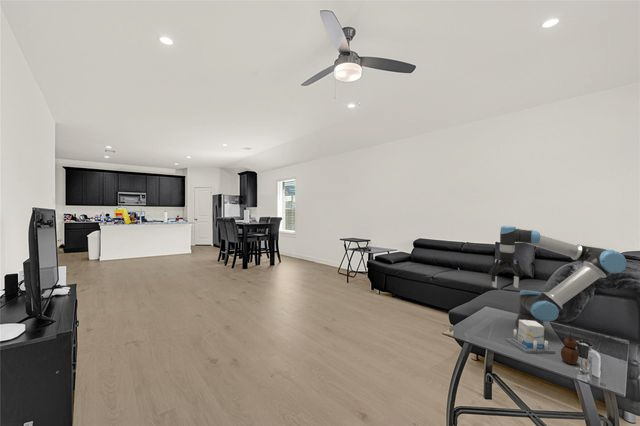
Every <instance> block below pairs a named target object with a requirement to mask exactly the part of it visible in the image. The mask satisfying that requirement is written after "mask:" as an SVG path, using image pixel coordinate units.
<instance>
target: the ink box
mask: <svg viewBox="0 0 640 426" xmlns="http://www.w3.org/2000/svg"><path fill="white" fill-rule="evenodd" d="M517 328H518V330H517V331H518V332H517V338H518V341H520V342H521V343H522V344H523V345H525V346H526V347H530V348H533V342H534V340H535V341H537V348H539V349H543V346H544V342H545V338H544V337H545V332H544V327H543V326H542V325H541V324H539V323H538V322H536V321H530V320H519V327H517Z"/></svg>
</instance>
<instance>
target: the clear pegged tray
mask: <svg viewBox="0 0 640 426" xmlns="http://www.w3.org/2000/svg"><path fill="white" fill-rule="evenodd" d="M517 331H518V330H517V329H515V328H514V329H513V336H512V338H510V337H509V338H507V337H506V338H505V341H506V342H507V343H509V344H511V345H512V346H514V347H515V348H517V349H518V350H519V351H522V352H523V353H525V354H556V350H554V349H552V348H550V346H549V341H548V340H546V339H544V346H543V349H539V348H537V341H535V340H534V342H533V348H530V347H526V346H525V345H523V344H522V343H521V342H520V341H518V332H517Z"/></svg>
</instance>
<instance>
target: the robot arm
mask: <svg viewBox="0 0 640 426" xmlns="http://www.w3.org/2000/svg"><path fill="white" fill-rule="evenodd" d="M516 243H520V244H527V245H530V246H534V247H537V248H540V249H543V250H547V251H550V252H553V253H555V254H556V253H557V254H560V255H563V256H565V257H570V258H571V259H572V260H573V261H577V262H579V263H582V264H583V266H581V267H579V268H578V269H577V270H576V271H574V272H573V273H572V274H571V275H569V276H568V277H566V278H565V279H564V280H563V281H561V282H560V283H558V284H557V285H555V286H554V287H553V288H552V289H550V290H549V291H548V292H547V291H545V292H543V291H541V292H540V291H536V290H528V289H522V290H520V291H519V296H518V297H519V298H518V299H519V301H518V304H519V305H518V314H517V316H516V319H515V321H514V326H515V327H517V328H519V320H530V321H536V322H538V323H539V324H541V325H542V326H543V327H544V331H546V326H545V323H550V322H553V321H555V320H556V319H558V317H559V313H560V311H562V310H563V305H564V304H566V302H567V303H568V301H569V300H571V299H572V298H574V297H575V296H576V295H578V294H579V293H581V292H583V290H584V289H586V288H588V287H589V286H590V285H591V284H593V283H594V282H596V281H598V279H600V278H602V279H603V278H607V277H609V276H610V275H611V274H618V273H622V272H623V271H624V270H626V267H627V265H628V264H627V259H626V257H625V256H624V255H623V254H622V253H620V252H618V251H615V250H614V249H607V248H600V247H593V246H588V245H582V244H576V245H575V244H573V243H569V242H566V241H562V240H560V239H555V238H552V237H549V236H545V235H542V234H541V233H540V231H538V230H530V229H529V230H527V229H520V228H516V226H512V225H502V226H501V227H500V232H499V253H498V255H499V256H498V257H499V259H496V258H495V259H494V260H493V264H492V266H491V268H490V270H488V273H487V274H488V275H489V276H491V282H492V283H491V286H492V287H493V288H495V289H497V285H498V276H497V275H498V274H499V273H500V271H502V269H504V268H505V269H506V268H509V269H510V270H511V272H512V273H513V274H514V276H513V288H515V289H516V288H517V289H519V283H520V279H521V278H522V277H523V276H524V273H523V270H522V269H521V266H520V263H519V262H520V260H517V259H515V253H514V252H516V251H515V250H516V247H515V246H516Z"/></svg>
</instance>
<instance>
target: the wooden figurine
mask: <svg viewBox="0 0 640 426" xmlns="http://www.w3.org/2000/svg"><path fill="white" fill-rule="evenodd" d="M563 344H564V346H562V348H561V349H560V356H561V360H562V361H563V362H564V363H565V364H568V365H575V364H577V362H578V360H579V359H580V358H579V357H580V354H579V350H578V349H577V347H578V346H577V345H578V343H577V341H576V340H575V339H573V338H572V332H569V338H567V337H565V338H564V340H563Z"/></svg>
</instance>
